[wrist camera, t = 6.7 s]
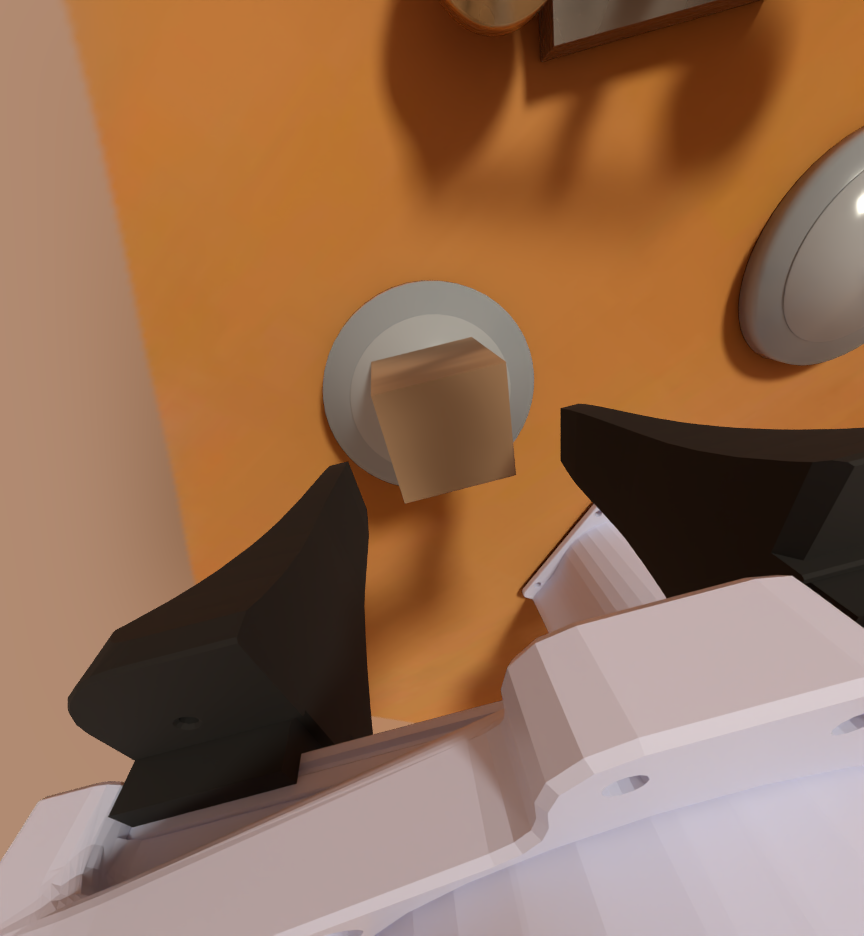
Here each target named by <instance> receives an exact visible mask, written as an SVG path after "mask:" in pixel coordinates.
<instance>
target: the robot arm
mask: <svg viewBox="0 0 864 936" xmlns="http://www.w3.org/2000/svg"><path fill="white" fill-rule="evenodd" d="M561 462H562V464H563V465H564V467H565V468H566V470H567V472H568V473H569V475H570V476H571V478H572V479H573V480H574V482H575V483H576V484H577V485H578V487H579V488H580V489H581V490H582V491H583V492H584V493H585V494H586V496H587V497H588V498H589V499H590V500H591V501H592V502H593V503H594V504H593V505H592V507H591V508H590V509H589V510H588V511H587V513H586V514H585V515H584V516H583V517H582V519H581V520H580V521H579V522H578V523H577V525H576V526H575V527H574V528H573V529H572V531H571V532H570V533H569V534H568V535H567V537H566V538H565V539H564V540H563V541H562V543H561V544H560V545H559V546H558V547H557V549H556V550H555V551H554V552H553V553H552V555H551V556H550V557H549V558H548V559H547V561H546V562H545V563H544V564H543V565H542V567H541V568H540V569H539V570H538V571H537V573H536V574H535V575H534V576H533V577H532V579H531V580H530V581H529V582H528V583H527V585H526V586H525V587H524V588H523V590H522V593H523V595H524V597H526V598H530V599H533V601H534V603H535V605H536V607H537V609H538V611H539V613H540V616H541V618H542V620H543V622H544V624H545V626H546V628H547V630H548V632H549V633H548V634H545V635H543V636H541V637H538V638H536V639H535V640H534V641H533V642H531V643H530V644H529V645H528V646H527V647H526V648H525V649H524V650H522V651H521V652H520V653H519V654H518V655H517V656H516V657H514V658H513V659H512V660H511V662H510V664H509V666H508V667H507V671H506V674H505V677H504V681H503V684H502V687H501V694H502V699H503V700H502V701H498V702H494V703H490V704H487V705H483V706H479V707H475V708H471V709H468V710H464V711H460V712H456V713H453V714H449V715H445V716H441V717H438V718H434V719H430V720H426V721H422V722H419V723H415V724H411V725H408V726H404V727H400V728H396V729H393V730H389V731H385V732H381V733H377V734H374V735H373V730H372V720H371V709H370V697H369V684H368V670H367V653H366V636H365V610H364V601H365V582H366V568H367V555H368V539H369V530H368V517H367V509H366V506H365V503H364V501H363V498H362V496H361V493H360V491H359V488H358V486H357V483H356V480H355V478H354V475H353V473H352V470H351V468H350V465H349V463H348V462H344V463H340V464H336V465H332V466H329V467H328V468H327V469H326V470H325V471H324V472H323V473H322V475H321V476H320V477H319V478H318V479H317V480H316V482H315V483H314V484H313V485H312V486H311V487H310V488H309V490H308V491H307V492H306V493H305V494H304V495H303V496H302V498H301V499H300V500H299V501H298V502H297V503H296V504H295V505H294V506H293V507H292V508H291V509H290V510H289V511H288V512H287V513H286V514H285V515H284V517H283V518H282V519H281V520H280V521H279V522H278V523H276V524H275V525H274V526H273V527H272V528H271V529H270V530H269V531H268V532H267V533H266V534H264V535H263V536H262V537H261V538H260V539H258V540H257V541H256V542H255V543H254V544H253V545H251V546H250V547H249V548H248V549H246V550H245V551H243V552H242V553H241V554H239V555H238V556H237V557H235V558H234V559H233V560H231V561H230V562H229V563H227V564H226V565H225V566H223V567H222V568H221V569H219V570H218V571H216V572H215V573H213V574H212V575H210V576H209V577H207V578H206V579H204V580H203V581H201V582H200V583H198V584H196V585H195V586H193V587H192V588H190V589H188V590H187V591H185V592H183V593H182V594H180V595H179V596H177V597H175V598H173V599H172V600H170V601H169V602H167V603H165V604H163V605H161V606H159V607H158V608H156V609H154V610H152V611H150V612H148V613H147V614H145V615H143V616H141V617H139V618H138V619H136V620H134V621H132V622H130V623H128V624H127V625H125V626H123V627H121V628H119V629H117V630H115V631H114V632H113V634H112V635H111V636H110V638H109V639H108V641H107V642H106V644H105V645H104V646H103V648H102V649H101V651H100V652H99V654H98V655H97V657H96V658H95V659H94V661H93V663H92V664H91V665H90V667H89V668H88V669H87V671H86V672H85V674H84V675H83V677H82V678H81V679H80V681H79V682H78V684H77V685H76V686H75V688H74V689H73V691H72V692H71V694H70V695H69V697H68V711H69V713H70V715H71V717H72V719H73V720H74V722H75V723H76V725H77V726H79V727H80V728H81V729H83V730H84V731H85V732H87V733H88V734H89V735H91V736H93V737H95V738H97V739H98V740H100V741H102V742H103V743H105V744H107V745H109V746H110V747H112V748H114V749H116V750H117V751H119V752H121V753H122V754H124V755H126V756H128V757H129V758H131V759H133V760H135V762H134V764H133V766H132V768H131V770H130V772H129V775H128V777H127V779H126V781H125V783H124V782H115V781H108V782H101V783H96V784H92V785H89V786H85V787H81V788H77V789H74V790H70V791H66V792H62V793H58V794H55V795H51V796H47V797H45V798H43V799H42V800H40V801H39V802H38V803H37V805H36V806H35V808H34V809H33V811H32V812H31V814H30V816H29V817H28V819H27V821H26V822H25V823H24V825H23V827H22V828H21V830H20V832H19V833H18V835H17V836H16V838H15V839H14V841H13V843H12V844H11V846H10V847H9V849H8V851H7V852H6V854H5V855H4V857H3V858H2V860H1V862H0V936H864V428H851V429H813V430H777V429H750V428H732V427H719V426H709V425H699V424H691V423H683V422H676V421H670V420H664V419H658V418H653V417H648V416H642V415H637V414H633V413H628V412H623V411H618V410H614V409H609V408H604V407H599V406H593V405H587V404H576V405H572V406H568V407H564V408H561ZM597 511H598V512H597Z"/></svg>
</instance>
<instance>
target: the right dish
mask: <svg viewBox="0 0 864 936" xmlns="http://www.w3.org/2000/svg"><path fill="white" fill-rule="evenodd" d="M739 322H740V327H741V331H742V334H743V336H744V339H745V340H746V342H747V344H748V345H749V347H750V348H751V349H753V350H754V351H755V352H756V353H757V354H759V355H761V356H762V357H765V358H768V359H771V360H775V361H779V362H783V363H787V364H793V365H812V364H817V363H822V362H825V361H829V360H832V359H834V358H837V357H839V356H842V355H844V354H846V353H848V352H850V351H852V350H854V349H856V348H858V347H859V346H861V345H862V344H864V126H863V127H861V128H859V129H858V130H856V131H855V132H853V133H851V134H850V135H848V136H846V137H845V138H844V139H842V140H841V141H840V142H838V143H837V144H836V145H835V146H833V147H832V148H831V149H829V150H828V151H827V152H826V153H825V154H824V155H823V156H822V157H820V158H819V159H818V160H817V161H816V162H815V163H814V164H813V165H812V166H811V167H810V168H809V169H808V170H807V171H806V172H805V173H804V174H803V175H802V176H801V177H800V179H799V180H798V181H797V182H796V183H795V185H794V186H793V187H792V188H791V189H790V191H789V192H788V193H787V194H786V196H785V197H784V198H783V200H782V201H781V203H780V204H779V205H778V207H777V208H776V210H775V211H774V213H773V214H772V216H771V218H770V219H769V221H768V222H767V224H766V226H765V227H764V229H763V231H762V233H761V235H760V237H759V239H758V241H757V243H756V245H755V247H754V249H753V252H752V254H751V256H750V259H749V261H748V264H747V267H746V270H745V274H744V277H743V281H742V285H741V290H740V297H739Z"/></svg>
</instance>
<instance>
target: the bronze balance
mask: <svg viewBox="0 0 864 936" xmlns="http://www.w3.org/2000/svg"><path fill="white" fill-rule="evenodd" d="M439 1H440V3H441V5H442V6H443V7H444V9H445V10H446V11H447V12H448V13H449V15H450V16H451V17H452V18H453V19H454V20H456V21H457V22H458V23H459V24H460V25H462V26H463V27H465V28H466V29H468V30H470V31H472V32H474V33H476V34H480V35H484V36H501V35H506V34H509V33H511V32H514V31H516V30H518V29H519V28H521V27H523V26H524V25H525V24H527V23H528V22H529V21H530V20H531V19H532V18H533V17H534V16H535V15H536V14H537V13H538V12H539V28H540V52H541V62H543V61H546V60H550V59H553V58H557V57H560V56H564V55H567V54H571V53H575V52H578V51H582V50H585V49H589V48H592V47H596V46H599V45H603V44H607V43H610V42H614V41H617V40H621V39H624V38H628V37H631V36H635V35H638V34H642V33H646V32H649V31H653V30H656V29H660V28H663V27H667V26H670V25H674V24H678V23H681V22H685V21H688V20H692V19H695V18H699V17H702V16H706V15H709V14H713V13H717V12H720V11H724V10H727V9H731V8H734V7H738V6H741V5H745V4H749V3H752V2H756V1H759V0H439Z"/></svg>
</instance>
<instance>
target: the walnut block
mask: <svg viewBox="0 0 864 936" xmlns="http://www.w3.org/2000/svg"><path fill="white" fill-rule="evenodd" d="M371 398H372V401H373V404H374V407H375V411H376V414H377V417H378V420H379V423H380V426H381V430H382V433H383V436H384V439H385V442H386V445H387V449H388V452H389V455H390V458H391V461H392V464H393V468H394V471H395V474H396V477H397V480H398V484H399V487H400V490H401V493H402V496H403V499H404V503H405V504H406V503H410V502H414V501H417V500H421V499H425V498H429V497H433V496H437V495H441V494H445V493H448V492H452V491H456V490H460V489H464V488H468V487H472V486H475V485H479V484H483V483H487V482H491V481H495V480H499V479H503V478H506V477H510V476H514V475H516V471H515V459H514V448H513V436H512V425H511V413H510V402H509V390H508V379H507V367H506V361H504V360H503V359H501V358H500V357H499V356H497V355H496V354H495V353H493V352H492V351H491V350H489V349H488V348H486V347H485V346H484V345H482V344H481V343H480V342H478V341H477V340H475V339H474V338H473V337H469V338H465V339H461V340H457V341H453V342H449V343H445V344H441V345H437V346H433V347H429V348H425V349H421V350H417V351H413V352H409V353H405V354H401V355H397V356H392V357H388V358H384V359H380V360H376V361H372V362H371Z"/></svg>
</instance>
